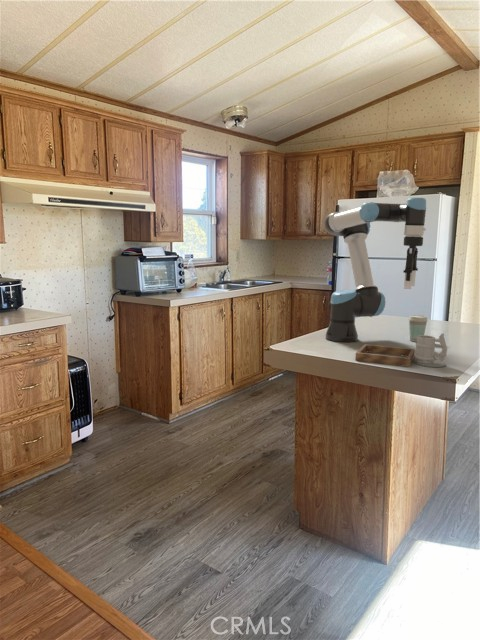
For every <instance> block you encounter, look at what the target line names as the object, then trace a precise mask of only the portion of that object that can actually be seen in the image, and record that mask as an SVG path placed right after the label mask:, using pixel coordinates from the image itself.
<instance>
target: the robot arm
mask: <svg viewBox="0 0 480 640" xmlns="http://www.w3.org/2000/svg"><path fill="white" fill-rule="evenodd" d="M426 213H427V199H426V198H424V197H409V198H407V200H406V203H387V202H385V203H384V202H383V203H382V202H374V201H373V202H372V201H371V202H364V203H362V205H361V206H359V207H357V208H353V209H349V210H346V211H342V212H340V211H335V212H334V211H333V212H332V213H329V214H328V215H327V216H326V217H325V219H324V222H323V226H324V229H325V231H326V232H327V233H328V234H330V235H332V236H334V237H342V238H343V242H344V243H345V244H347V246H348V252H349V258H350V262H351V269H352V275H353V280H354V285H355V288H354V289H344V290H336V291H334V292H332V294H331V296H330V313H329V315H330V318H329V320H330V321H329V325H328V327H327V330H326V333H325V339H326V340H328V341H331V342H339V343H351V342H356V341H357V342H358V339H359V335H358V331H357V328H356V318H366V317H370V318H373V317H378V316H380V315H382V313H383V312H384V309H385V308H386V297H385V294H383V292H380V291H379V289H378V288H379V287H378V286H377V285H375V284H374V279H373V274H372V269H371V265H370V260H369V254H368V249H367V245H366V244H367V243H366V240H367V238H368V234H370V231H371V229H370V228H371V223H374V222H389V223H390V222H391V223H403V222H405V224H404V232H403V235H404V237H403V246H405V247H406V246H407V247H408V248H407V250H406V260H405V267H404V269H403V273H404V280H403V281H404V283H403V290H412V287H415V285H416V276H417V275H416V272H417V271H418V270H419V268H418V266H417V265H418V264H417V263H418V260H417V259H418V253H419V251H418V248H417V247H422V246H423V244H424V237H423V236H424V233H425V231H426V228H425V221H426Z"/></svg>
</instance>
